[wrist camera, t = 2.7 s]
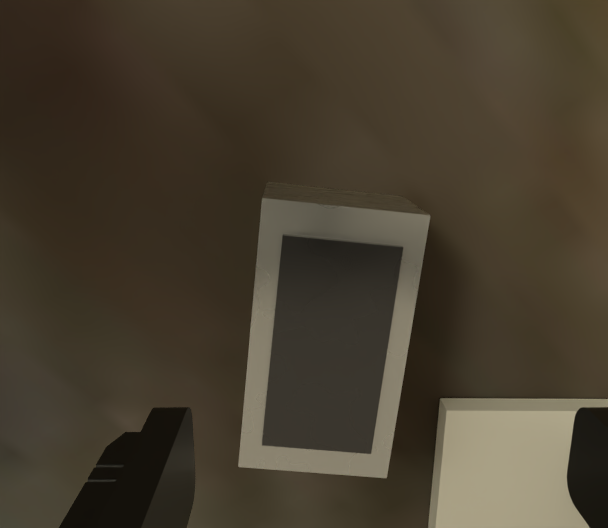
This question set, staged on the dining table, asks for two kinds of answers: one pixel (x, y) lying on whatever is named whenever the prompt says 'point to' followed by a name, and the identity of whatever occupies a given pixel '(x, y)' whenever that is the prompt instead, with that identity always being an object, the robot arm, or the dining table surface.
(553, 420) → the pin tray
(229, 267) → the dining table surface
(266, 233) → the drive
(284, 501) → the dining table surface
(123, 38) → the dining table surface
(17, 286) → the dining table surface
